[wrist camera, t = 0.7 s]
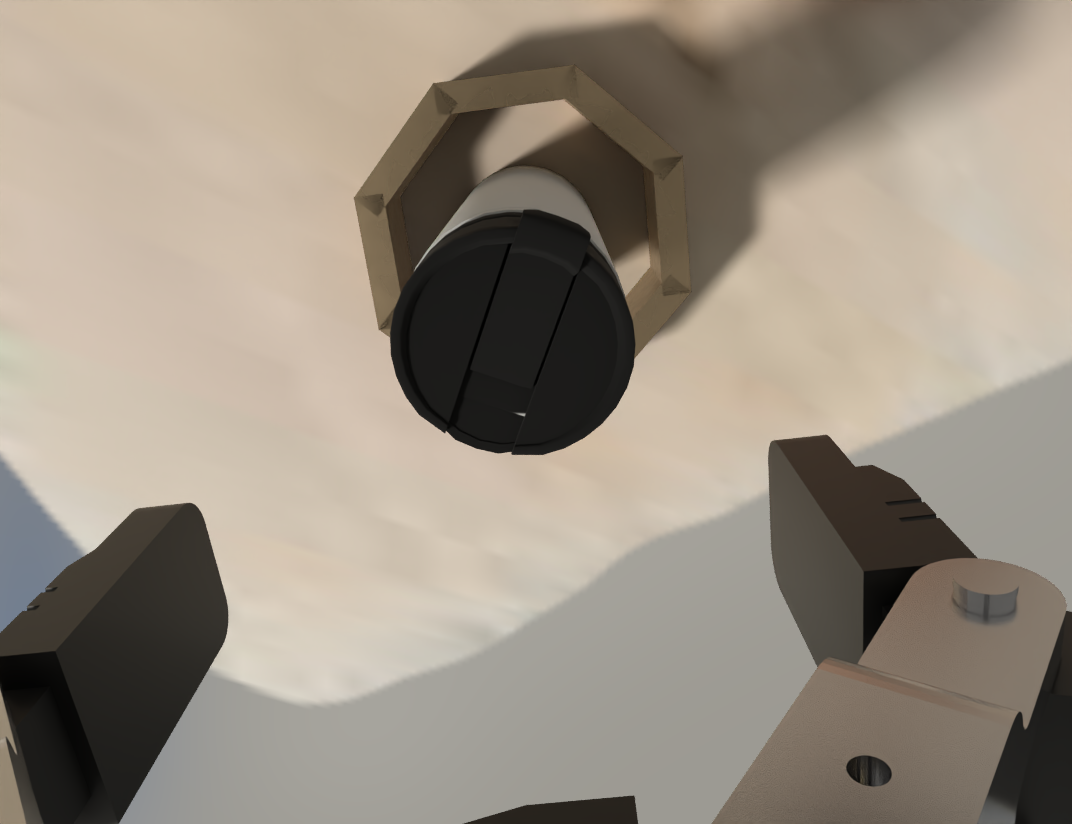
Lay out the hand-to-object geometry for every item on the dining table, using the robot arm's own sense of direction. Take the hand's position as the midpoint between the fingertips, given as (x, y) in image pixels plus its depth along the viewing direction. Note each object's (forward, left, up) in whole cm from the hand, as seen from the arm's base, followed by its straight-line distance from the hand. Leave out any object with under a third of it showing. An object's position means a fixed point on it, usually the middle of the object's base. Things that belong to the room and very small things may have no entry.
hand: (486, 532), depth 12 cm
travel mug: (0, 0, -30) cm, 30 cm away
